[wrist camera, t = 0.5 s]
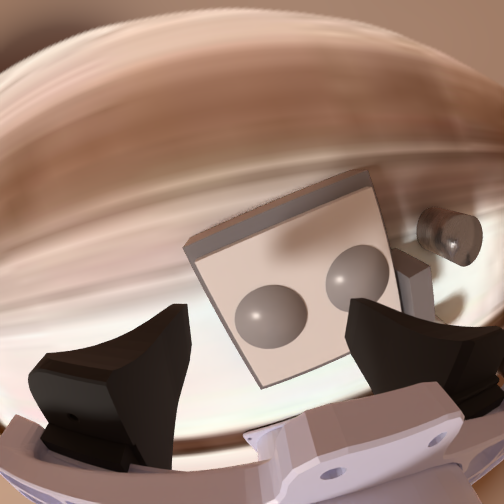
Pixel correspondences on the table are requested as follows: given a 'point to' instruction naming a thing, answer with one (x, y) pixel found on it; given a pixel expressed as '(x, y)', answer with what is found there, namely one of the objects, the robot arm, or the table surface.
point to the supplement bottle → (501, 368)
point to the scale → (305, 275)
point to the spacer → (450, 235)
